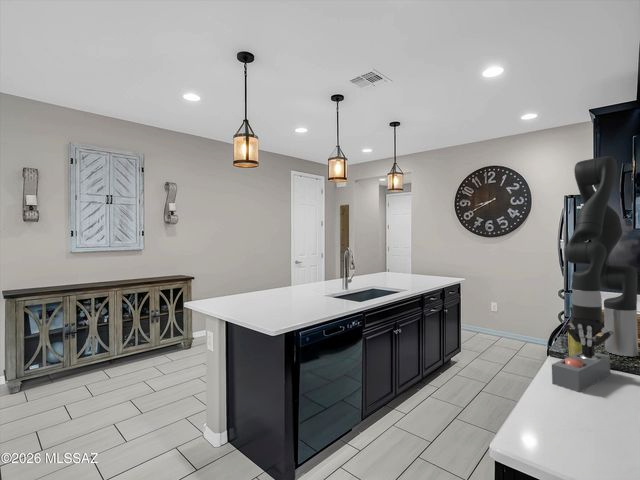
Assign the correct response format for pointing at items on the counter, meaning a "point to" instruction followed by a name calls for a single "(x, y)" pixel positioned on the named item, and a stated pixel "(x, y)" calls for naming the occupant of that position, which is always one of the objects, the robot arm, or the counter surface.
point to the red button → (574, 362)
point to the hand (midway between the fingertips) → (588, 356)
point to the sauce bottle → (573, 341)
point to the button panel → (580, 372)
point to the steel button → (589, 358)
